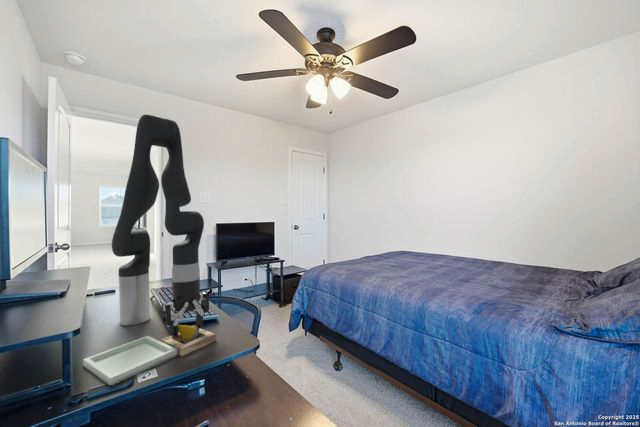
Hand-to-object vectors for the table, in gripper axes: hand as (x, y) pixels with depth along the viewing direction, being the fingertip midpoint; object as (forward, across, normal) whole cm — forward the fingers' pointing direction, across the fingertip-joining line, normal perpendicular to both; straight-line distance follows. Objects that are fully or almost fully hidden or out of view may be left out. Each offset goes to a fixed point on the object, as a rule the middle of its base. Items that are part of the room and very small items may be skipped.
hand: (187, 332), depth 86 cm
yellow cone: (+4, 0, 0) cm, 4 cm away
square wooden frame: (+3, 0, 0) cm, 3 cm away
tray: (+4, +14, -4) cm, 15 cm away
